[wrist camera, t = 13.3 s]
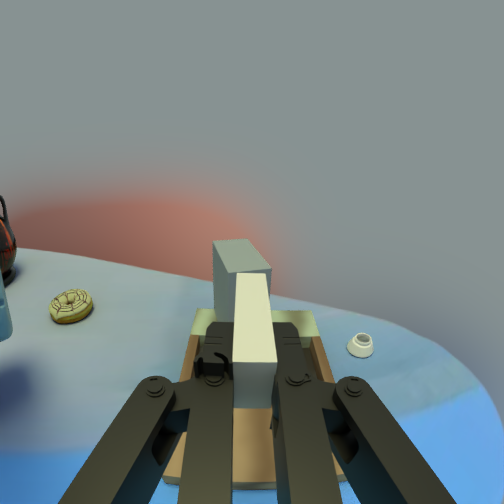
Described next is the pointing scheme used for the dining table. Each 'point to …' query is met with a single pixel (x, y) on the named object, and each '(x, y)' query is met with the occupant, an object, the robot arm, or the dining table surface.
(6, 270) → the amphora vase
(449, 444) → the dining table surface
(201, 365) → the robot arm
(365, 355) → the white jar
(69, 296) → the decorated donut
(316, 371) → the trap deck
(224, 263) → the grey block
